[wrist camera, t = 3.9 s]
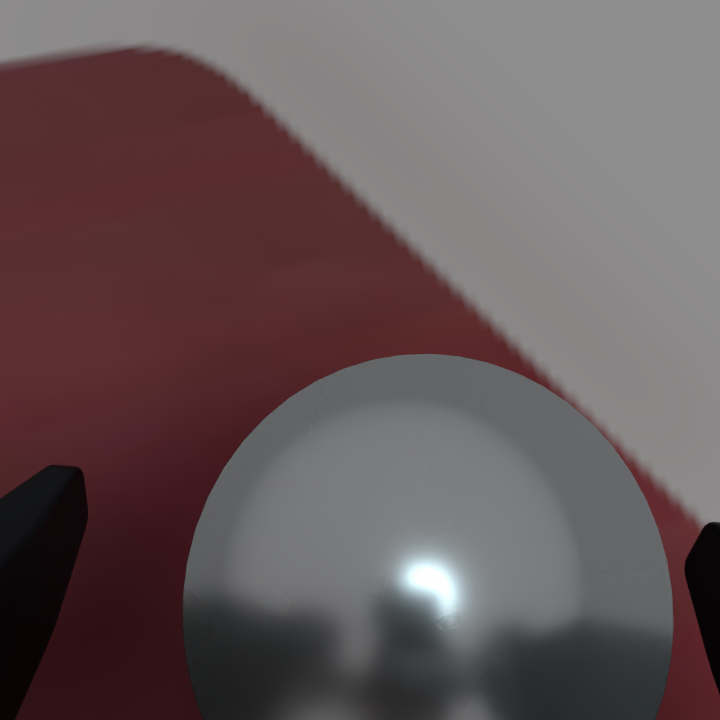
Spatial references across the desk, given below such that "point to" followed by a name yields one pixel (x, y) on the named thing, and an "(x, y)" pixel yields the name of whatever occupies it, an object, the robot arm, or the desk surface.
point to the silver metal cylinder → (427, 558)
